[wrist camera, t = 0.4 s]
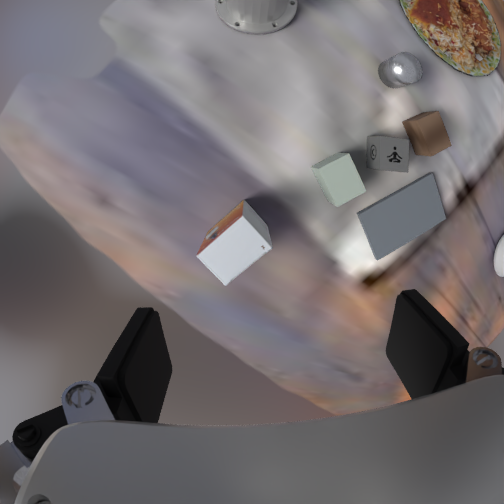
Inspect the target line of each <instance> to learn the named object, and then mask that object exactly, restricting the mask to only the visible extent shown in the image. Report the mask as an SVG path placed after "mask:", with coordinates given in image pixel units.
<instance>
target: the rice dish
mask: <svg viewBox="0 0 504 504" xmlns="http://www.w3.org/2000/svg"><path fill="white" fill-rule="evenodd" d="M399 1H400V6H401V7H402V8H403V12H404V13H405V15H406V17H407V19H408V20H409V21H410V23H411V25H412V26H413V28H414V30H415V31H416V32H417V34H418V35H419V36H420V37H421V39H422V40H423V41H424V42H425V43H426V44H427V45H428V46H429V47H430V48H431V49H432V51H433V52H434V53H435V54H436V55H437V56H438V57H440V58H441V59H442V60H443V61H445V62H447V63H448V65H450V66H452V67H453V68H454V69H456V70H457V71H459V72H463V73H464V74H467V75H470V76H485V75H487V76H488V75H489V74H490V73H491V72H493V71H494V70H495V69H496V68H497V66H498V63H499V61H500V55H501V50H500V48H501V43H500V40H499V39H500V37H499V32H498V29H497V27H496V24H495V23H494V20H493V18H492V16H491V14H490V12H489V11H488V9H487V7H486V6H485V4H484V3H483V1H482V0H411V2H407V0H399ZM407 4H409V5H410V7H409V6H408V5H407ZM440 49H441V50H442V51H443V52H444V53H445V52H446V51H447V53H448V54H449V56H447V55H446V54H444V53H443V52H442V51H441V50H440ZM475 52H476V54H480V56H481V57H482V58H483V60H482V61H479V60H478V59H476V58H475V57H476V56H475ZM451 55H452V57H451Z"/></svg>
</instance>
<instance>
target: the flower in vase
mask: <svg viewBox="0 0 504 504" xmlns="http://www.w3.org/2000/svg"><path fill="white" fill-rule="evenodd" d="M494 268H495V271H496V273H497V275H498V276H501V277H504V235H503V236H502V237H501V239H500V240H499V242H498V244H497V247H496V250H495V254H494Z"/></svg>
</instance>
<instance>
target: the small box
mask: <svg viewBox="0 0 504 504" xmlns="http://www.w3.org/2000/svg"><path fill="white" fill-rule="evenodd" d="M272 248H273V247H272V242H271V238H270V234H269V230H268V226H267V224H266V223H265V222H264V221H263V220H262V219H261V218H260V217H259V215H258V214H257V213H256V212H255V211H254V210H253V209H252V207H251V206H250V205H249V204H248V203H247V202H246V201H245V200H243V201H242V202H241V203H240V204H239V205H238V206H237V207H235V208H234V209H233V210H232V211H231V212H230V213H229V214H228V215H226V216H225V217H224V218H223V219H222V220H221V221H219V222H218V223H217V224H216V225H215V226H214V227H213V228H211V229H210V230H209V231H208V232H207V234H206V236H205V238H204V241H203V243H202V245H201V247H200V249H199V251H198V253H197V257H198V258H199V259H200V260H201V261H202V262H203V263H204V264H205V265H206V267H207V268H208V269H209V270H210V271H211V272H212V273H213V274H214V275H215V276H216V277H217V278H218V279H219V280H220V281H221V282H222V283H223V284H224V285H225V286H226V285H228V284H229V283H230V282H231V281H232V280H233V279H234V278H236V277H237V276H238V275H239V274H240V273H242V272H243V271H244V270H245V269H247V268H248V267H249V266H250V265H252V264H253V263H254V262H255V261H257V260H258V259H259V258H260V257H262V256H263V255H264V254H266V253H267V252H268V251H270V250H271V249H272Z"/></svg>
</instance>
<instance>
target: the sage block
mask: <svg viewBox="0 0 504 504" xmlns="http://www.w3.org/2000/svg"><path fill="white" fill-rule="evenodd" d="M311 169H312V170H313V172H314V174H315V176H316V178H317V180H318V182H319V184H320V186H321V188H322V190H323V192H324V194H325V196H326V198H327V200H328V202H330V203H331V204H333V205H334V206H336V207H338V206H340V205H342V204H344V203H346V202H348V201H350V200H351V199H353V198H355V197H357V196H359V195H361V194H363V193H364V192H366V189H365V187H364V185H363V183H362V180H361V178H360V176H359V174H358V171H357V169H356V167H355V165H354V163H353V161H352V159H351V156H350V154H349V153H337V154H335V155H333V156H331V157H329V158H327V159H325V160H323V161H321V162H319V163H317V164H315V165H313V166H311Z"/></svg>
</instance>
